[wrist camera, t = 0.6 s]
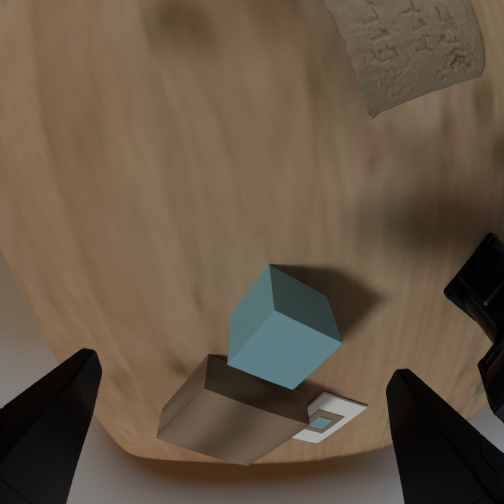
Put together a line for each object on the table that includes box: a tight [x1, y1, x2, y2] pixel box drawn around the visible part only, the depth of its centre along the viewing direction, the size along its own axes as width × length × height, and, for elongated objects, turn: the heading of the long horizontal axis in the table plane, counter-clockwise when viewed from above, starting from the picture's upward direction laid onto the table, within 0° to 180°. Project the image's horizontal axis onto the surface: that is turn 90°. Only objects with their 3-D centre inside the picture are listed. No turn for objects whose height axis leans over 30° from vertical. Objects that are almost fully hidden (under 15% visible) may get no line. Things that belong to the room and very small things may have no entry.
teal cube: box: [227, 264, 343, 390], centre depth 21 cm, size 5×5×5 cm
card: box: [292, 392, 367, 443], centre depth 30 cm, size 6×8×1 cm
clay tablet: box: [325, 0, 484, 118], centre depth 13 cm, size 14×10×3 cm
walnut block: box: [156, 354, 310, 466], centre depth 27 cm, size 10×10×4 cm
